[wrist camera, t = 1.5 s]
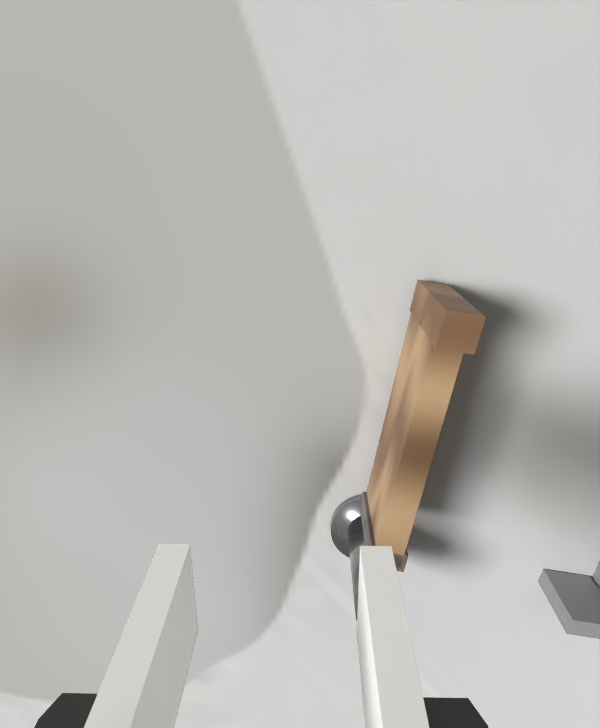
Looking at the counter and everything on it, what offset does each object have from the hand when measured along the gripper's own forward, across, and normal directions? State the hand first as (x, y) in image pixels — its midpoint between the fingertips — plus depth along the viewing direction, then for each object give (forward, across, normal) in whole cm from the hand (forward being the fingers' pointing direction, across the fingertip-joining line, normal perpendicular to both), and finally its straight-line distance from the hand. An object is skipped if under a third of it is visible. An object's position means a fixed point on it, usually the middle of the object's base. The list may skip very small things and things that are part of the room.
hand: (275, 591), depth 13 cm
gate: (+16, +6, -2) cm, 17 cm away
